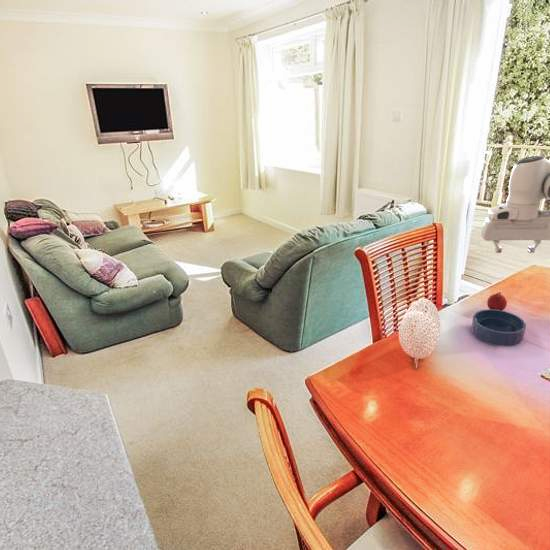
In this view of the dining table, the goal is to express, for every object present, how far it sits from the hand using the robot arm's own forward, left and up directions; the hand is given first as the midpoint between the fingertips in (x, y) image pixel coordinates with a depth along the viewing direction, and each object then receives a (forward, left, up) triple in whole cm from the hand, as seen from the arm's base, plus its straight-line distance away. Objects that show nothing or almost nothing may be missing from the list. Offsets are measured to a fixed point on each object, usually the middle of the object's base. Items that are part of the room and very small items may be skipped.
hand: (514, 252), depth 122 cm
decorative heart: (+31, +32, -22) cm, 50 cm away
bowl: (+6, +16, -22) cm, 28 cm away
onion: (+3, +2, -22) cm, 22 cm away
